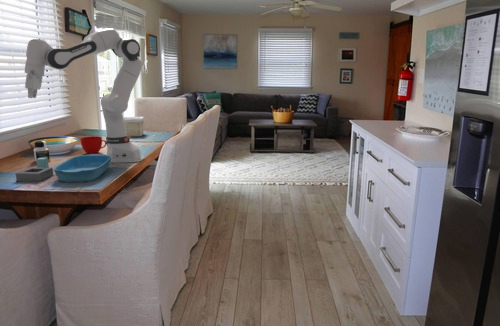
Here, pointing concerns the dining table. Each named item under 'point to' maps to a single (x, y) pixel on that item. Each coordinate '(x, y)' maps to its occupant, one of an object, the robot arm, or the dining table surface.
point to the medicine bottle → (41, 150)
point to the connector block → (42, 162)
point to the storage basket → (134, 126)
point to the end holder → (34, 174)
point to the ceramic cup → (92, 144)
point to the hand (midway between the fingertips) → (32, 97)
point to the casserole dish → (82, 168)
